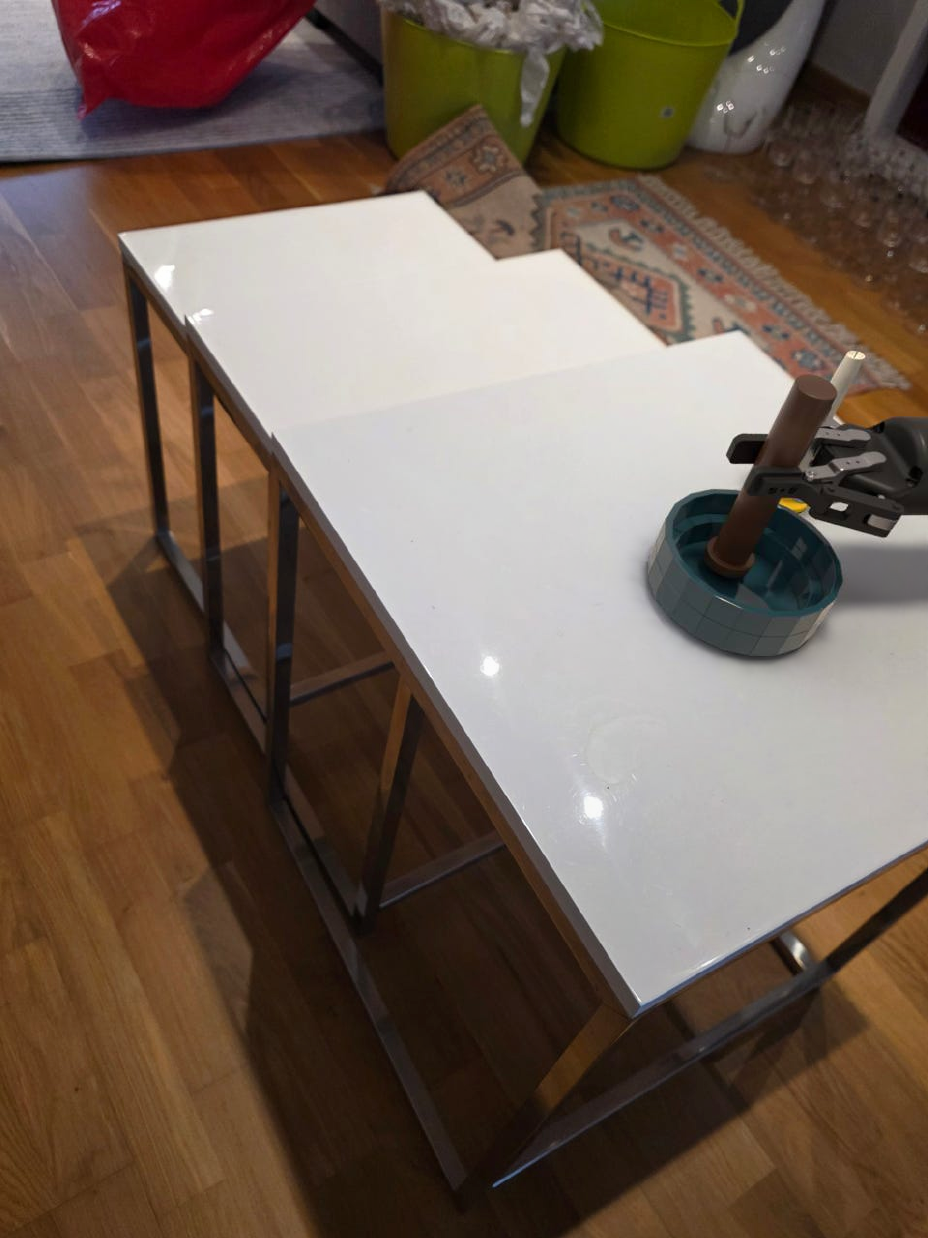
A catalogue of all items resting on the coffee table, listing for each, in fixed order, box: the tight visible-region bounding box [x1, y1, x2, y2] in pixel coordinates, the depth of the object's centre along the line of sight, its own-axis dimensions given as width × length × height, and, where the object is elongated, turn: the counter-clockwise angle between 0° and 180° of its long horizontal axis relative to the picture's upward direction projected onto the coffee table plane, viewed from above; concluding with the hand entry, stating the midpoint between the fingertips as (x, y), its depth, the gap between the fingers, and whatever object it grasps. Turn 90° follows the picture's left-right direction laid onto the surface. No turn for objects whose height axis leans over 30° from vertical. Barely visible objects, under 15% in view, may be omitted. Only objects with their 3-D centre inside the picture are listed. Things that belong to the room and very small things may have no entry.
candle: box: [779, 348, 866, 514], centre depth 83 cm, size 5×5×16 cm
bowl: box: [647, 488, 844, 657], centre depth 77 cm, size 14×14×5 cm
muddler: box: [703, 373, 837, 578], centre depth 72 cm, size 4×4×17 cm
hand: (741, 465), depth 70 cm, fingers closed on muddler, 3 cm apart
